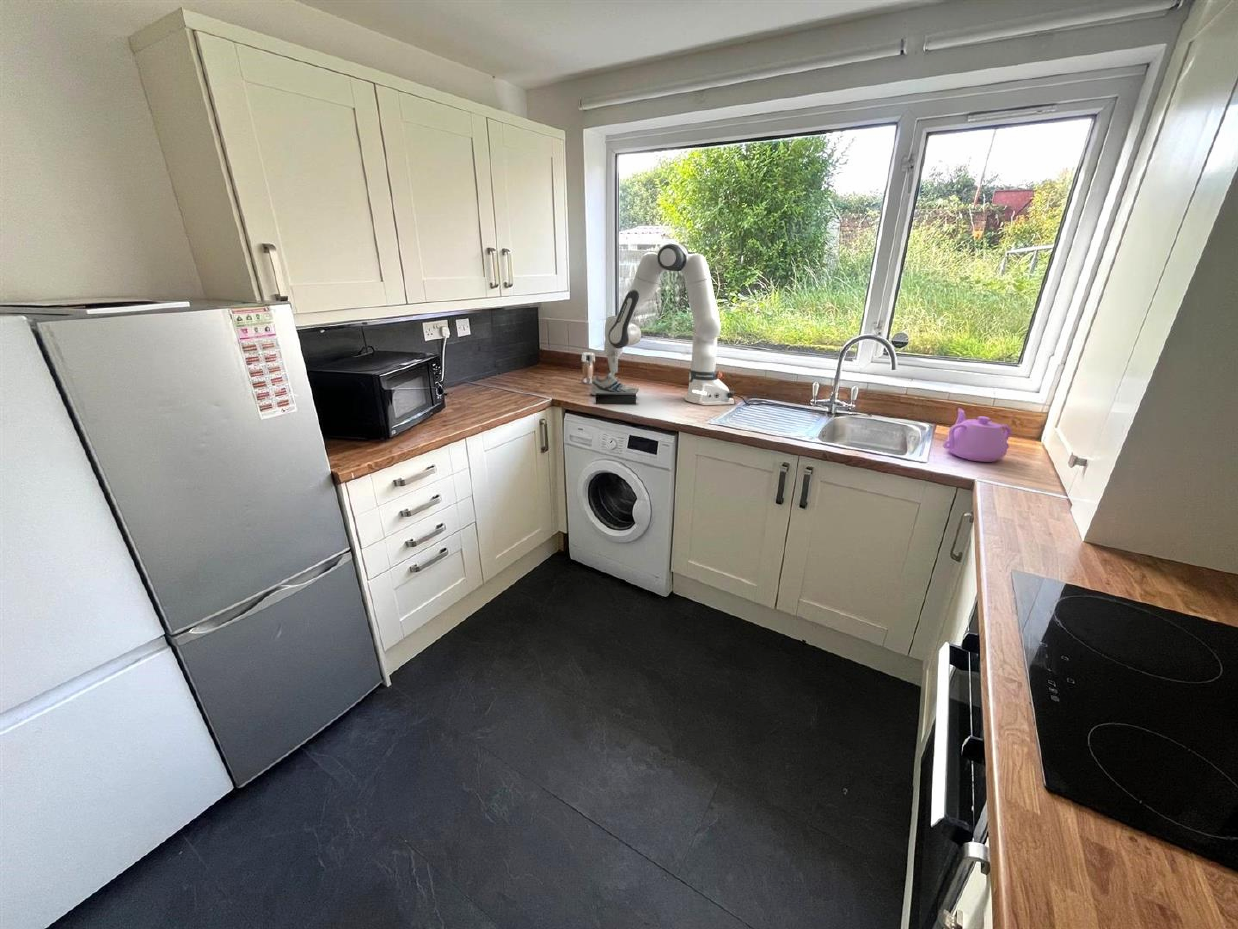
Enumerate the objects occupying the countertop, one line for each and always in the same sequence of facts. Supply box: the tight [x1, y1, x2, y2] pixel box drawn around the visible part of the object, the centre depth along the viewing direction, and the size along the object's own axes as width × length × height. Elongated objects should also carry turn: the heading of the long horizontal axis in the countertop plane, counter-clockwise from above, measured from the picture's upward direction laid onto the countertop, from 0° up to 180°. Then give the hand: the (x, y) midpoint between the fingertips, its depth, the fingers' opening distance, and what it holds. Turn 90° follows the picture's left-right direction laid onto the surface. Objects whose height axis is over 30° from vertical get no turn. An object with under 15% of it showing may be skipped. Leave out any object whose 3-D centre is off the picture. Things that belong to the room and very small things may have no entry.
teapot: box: [942, 407, 1012, 463], centre depth 170 cm, size 22×22×14 cm
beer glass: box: [581, 352, 596, 385], centre depth 258 cm, size 7×7×15 cm
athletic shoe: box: [589, 372, 640, 397], centre depth 234 cm, size 10×23×12 cm, turn 89°
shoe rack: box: [595, 392, 637, 405], centre depth 221 cm, size 18×2×5 cm, turn 94°
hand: (612, 378), depth 245 cm, fingers closed
